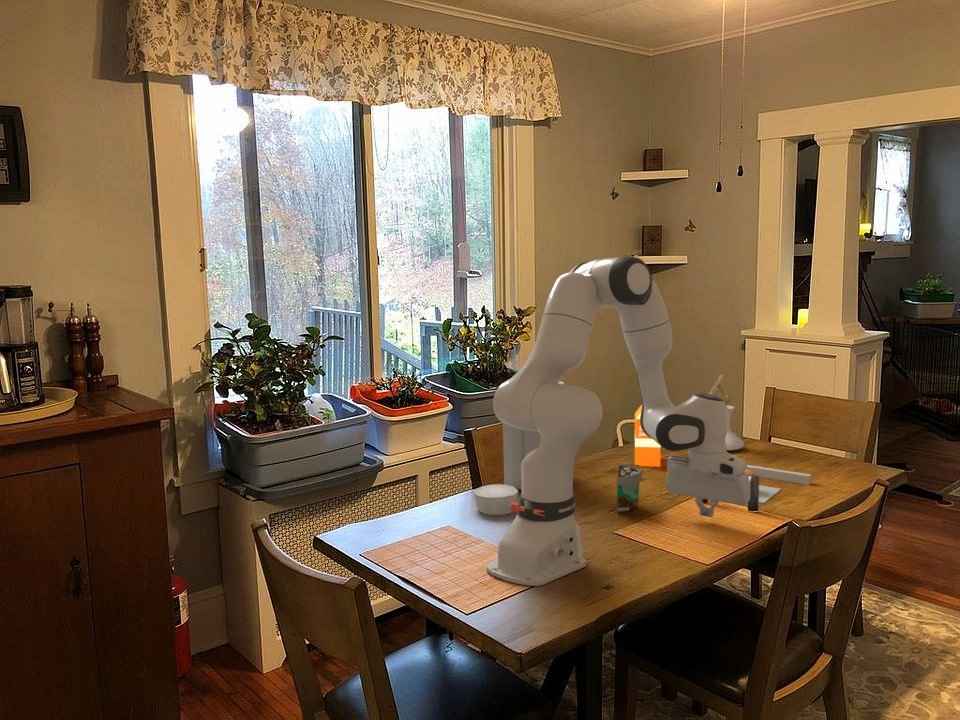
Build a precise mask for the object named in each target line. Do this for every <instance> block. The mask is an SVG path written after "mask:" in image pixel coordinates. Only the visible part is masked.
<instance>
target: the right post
mask: <svg viewBox="0 0 960 720" xmlns="http://www.w3.org/2000/svg"><path fill="white" fill-rule="evenodd" d="M749 480H750V491H751V496H750V500H749V501H748V502H747V511H748V510H749V511H758V512H759V508H760V507H759V506H760V505H759V504H760V503H759V485H760V477H759V476H758V475H749ZM749 511H748V512H749Z"/></svg>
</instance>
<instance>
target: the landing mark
mask: <svg viewBox="0 0 960 720" xmlns="http://www.w3.org/2000/svg"><path fill="white" fill-rule="evenodd" d="M781 490H782V489H781V488H778V487H772V486H767V485H761V484H759V504H765V503H767V502H768V501H769V500H770V499H772V497H774V496H775V495H776V494H778V493H779V492H780V491H781Z"/></svg>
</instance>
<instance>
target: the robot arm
mask: <svg viewBox="0 0 960 720" xmlns="http://www.w3.org/2000/svg"><path fill="white" fill-rule="evenodd" d="M598 308H615V309H616V311H617V312H618V315H619V321H620V327H621V330H622V334H623V338H624V340H625V344H626V347H627V349H628V353H629V354H630V357H631V359H632V362H633V364H634V367H635V370H636V377H637V382H638V386H639V392H640V396H641V405H642V409H641V415H640V425H641V428H642V430H643V432H644V433H645V435H647V436H648V437H649V438H651V439H653V440H654V441H655V442H656V443H658V444H659V445H660V446H661V448H663V449H665V450H668V451H670V452H672V451H673V452H679V451H684V450H688V457H687V456H679V455H672V456H670V457H668V459H667V461H666V469H667V474H666V480H665V489H666V491H667V492H668V493H671V494H677V495H681V496H687V497H694V501H695V504H696V506H697V507H698V508H699V516H704V517H708V518H713V517H714V513H715V512H714V511H715V508H717V506H718V504H719V503H726V504H730V505H731V504H733V505H736V506H740V507H741V506H743V507H744V506H745V505H746V504H748V501H749V500H750V496H751V491H750V480H749V476H748V475H747V473H746V472H744V471H745V470H746V468H747V465H748V463H747V462H746V461H745V460H744V459H741V458H739V457H737V456H735V455H733V454H731V453H729V452H728V450H727V446H726V442H725V439H726V435H727V410H726V405H725V402H724V401H723V400H722V399H723V398H722V399H721V398H720V397H719V396H716V395H713V394H712V395H710V394H709V393H694V394H693V395H692V396H691V397H690V398H688V399H687V400H685V401H684V402H682V403H680V404H678V405H674V403H673V402H672V401H671V400H670V398H669V395H668V390H667V386H666V381H665V376H664V370H663V364H664V360H665V359H666V358H667V356H668V355H669V354H670V353H671V351H672V349H673V346H674V343H673V341H674V340H673V330H672V324H671V321H670V316H669V312H668V309H667V307H666V304H665V301H664V298H663V296H662V294H661V292H660V289H659V287H658V285H657V283H656V282H655V281H653V277H652V274H651V270H650V269H649V267H648V265H647V263H646V262H645V261H644V260H642V259H641V258H640V257H636V256H632V255H631V256H630V255H629V256H628V255H623V256H620V257H608V258H607V257H602V258H598V259H593V260H591V261H584V262H581V263H578V264H577V265H575V266H574V267H573V268H572V269H570V270H569V272H567V273H563V274H561V275H560V276H559V277H557V279H556V280H555V282H554V284H553V286H552V289H551V291H550V293H549V295H548V297H547V301H546V303H545V308H544V310H543V314H542V316H541V317H542V318H541V322H540V325H539V329H538V332H537V337H536V340H535V342H534V346H533V348H532V351H531V352H530V354H529V356H528V357H527V359H526V361H525V362H524V364H523V365H522V367H520V369H519V370H518V371H517V372H516V373H515V374H514V375H513V376H512V377H511V378H509V379H507V380H505V381H504V382H502V383H501V384H500V385H499V386H498V388H497V389H496V391H495V393H494V396H493V400H492V401H493V402H492V405H493V411H494V415H495V417H496V418H497V420H498V421H499V422H500V423H502V424H503V423H505V424H507V425H509V426H512V427H514V428H517V429H521V430H527V431H533V432H539V433H540V434H541V441H540V445H539V448H537V449H535V450H533V451H531V452H530V453H528V454H527V455H526V456H525V458H524V459H523V461H522V464H521V476H522V489H521V493H520V495H519V499H518V501H517V502H518V503H517V502H516V503H515V502H512V503H511V505H510V510H511V513H516V516H515V518H514V519H513V521H512V522H511V524H510V525H509V526H508V528H507V530H506V532H505V533H504V534H503V536H502V538H501V539H500V540H499V543H498V550H497V556H496V557H495V559H494V560H492V561H491V562H489V564H488V565H487V566H486V572H487V571H488V572H489V573H490V575H491V574H492V575H491V576H493V577H495V576H496V577H495V578H497V577H498V578H497V579H500V578H501V579H500V580H502V579H503V581H506V582H508V583H509V582H510V583H512V584H513V583H514V584H517V585H523V586H531V587H532V586H533V587H534V586H535V587H537V586H539V587H540V586H544V585H546V584H549V583H550V582H552V581H555V580H557V579H559V578H562V577H564V576H566V575H568V574H571V573H573V572H575V571H578V570H580V569H582V568H585V567H587V561H586V559H585V558H584V557H583V556H582V555H583V554H582V544H581V543H582V541H581V535H580V534H581V532H580V527H579V524H578V523H577V521H576V518H575V514H574V513H576V498H575V494H574V491H573V490H574V488H573V487H574V486H573V485H574V484H573V481H574V480H573V479H574V463H575V459H576V455H577V452H578V451H579V449H580V446H581V445H582V444H583V442H584V441H585V440H586V439H587V438H589V437H590V436H592V435H593V434H594V433H595V432H596V431H597V430H598V428H599V427H600V425H601V422H602V418H603V406H602V403H601V401H600V398H599V397H598V395H597V394H596V393H595V392H593V391H591V390H588V389H586V388H583V387H580V386H577V385H574V384H573V385H572V384H565V383H564V384H558V383H559V381H561V380H562V378H563V377H564V376H565V375H566V374H567V373H568V372H570V371H571V370H574V369H576V368H578V367H580V365H581V364H583V362H584V360H585V359H586V355H587V352H588V347H589V343H590V339H591V333H592V329H593V326H594V321H595V315H596V311H597V309H598ZM704 499H708V501H709V504H710V507H706V506H705V503H703V502H702V500H704ZM488 572H487V573H488ZM489 573H488V574H489Z"/></svg>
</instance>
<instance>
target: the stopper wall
mask: <svg viewBox="0 0 960 720" xmlns="http://www.w3.org/2000/svg"><path fill="white" fill-rule="evenodd" d="M746 470H750V471H752V472H754V473H755V474H756V475H758V476H759V478H762V479H769V480H775V481H781V482H787V483H788V482H789V483H793V484H799V485H800V484H801V485H806V486H809V485H811V484H812V474H810V473H804V472H803V473H802V472H798V471H790V470H784V469H783V470H782V469H777V468H771V467H765V466H764V467H763V466H758V465H752V464H751V465H750V464H747V468H746Z"/></svg>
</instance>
